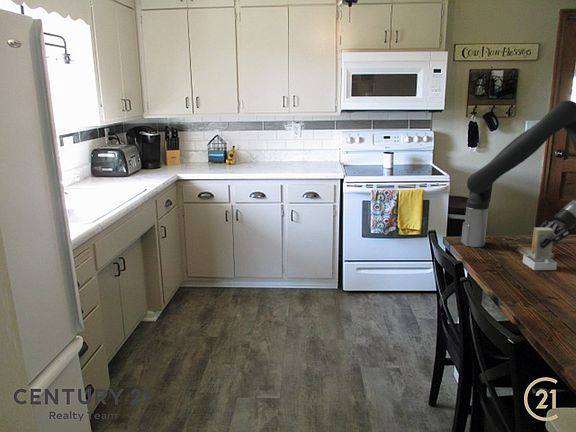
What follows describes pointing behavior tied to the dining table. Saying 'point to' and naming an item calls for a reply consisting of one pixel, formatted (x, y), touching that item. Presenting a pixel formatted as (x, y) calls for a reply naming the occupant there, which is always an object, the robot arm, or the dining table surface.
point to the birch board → (528, 251)
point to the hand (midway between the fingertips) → (537, 244)
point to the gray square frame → (539, 263)
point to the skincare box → (539, 237)
